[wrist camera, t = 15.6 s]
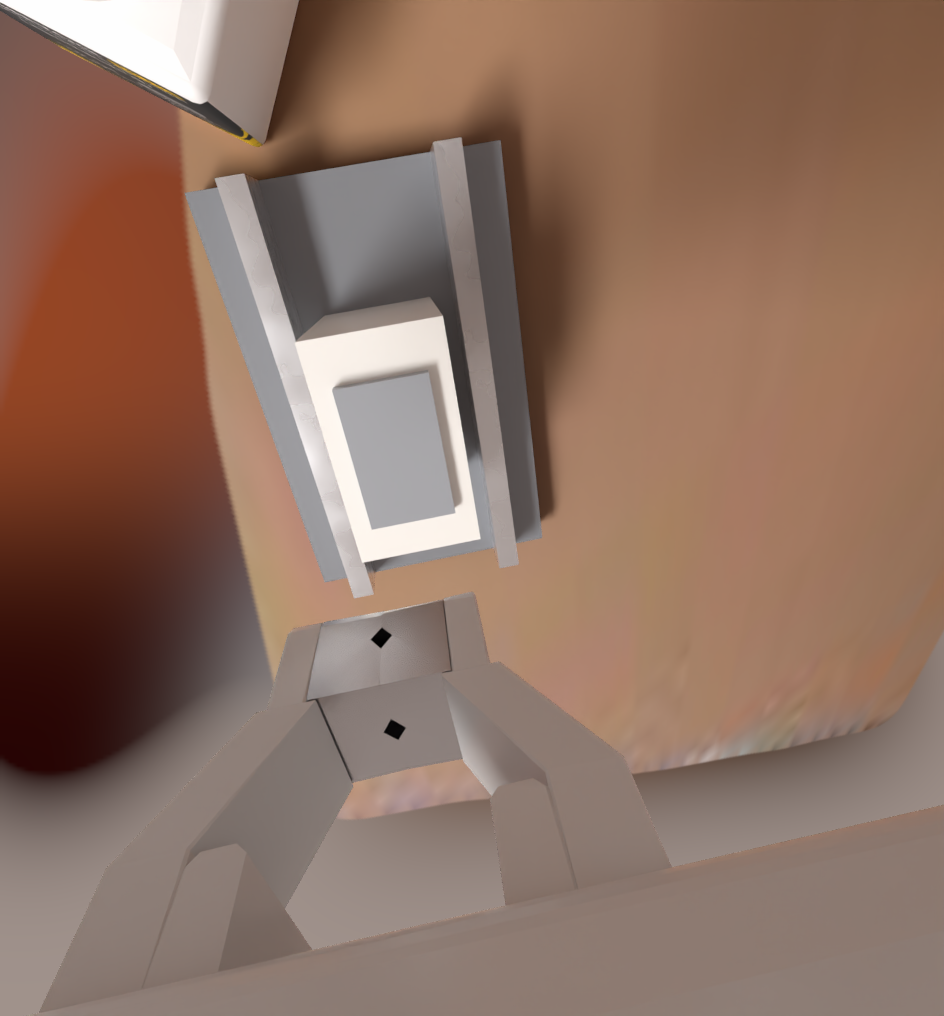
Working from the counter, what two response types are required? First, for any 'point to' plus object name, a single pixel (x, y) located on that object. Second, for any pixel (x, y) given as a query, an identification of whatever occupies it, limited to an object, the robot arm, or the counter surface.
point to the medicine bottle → (179, 50)
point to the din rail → (286, 328)
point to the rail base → (375, 282)
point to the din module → (392, 426)
